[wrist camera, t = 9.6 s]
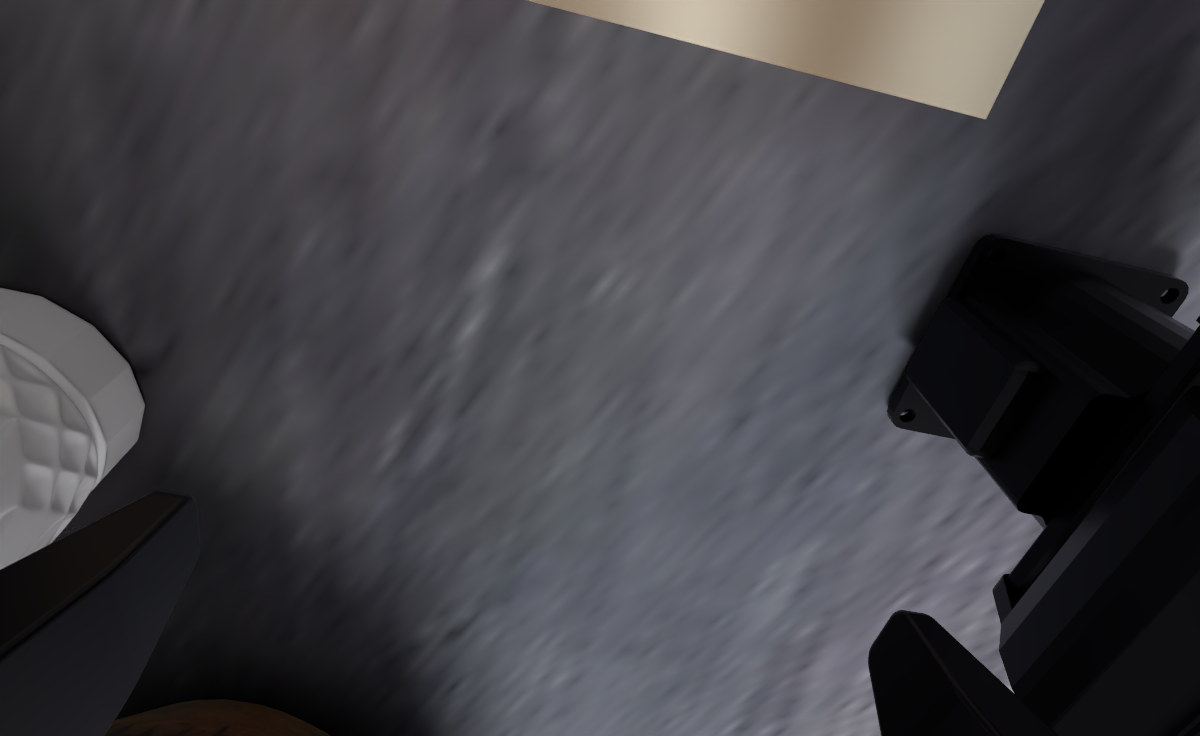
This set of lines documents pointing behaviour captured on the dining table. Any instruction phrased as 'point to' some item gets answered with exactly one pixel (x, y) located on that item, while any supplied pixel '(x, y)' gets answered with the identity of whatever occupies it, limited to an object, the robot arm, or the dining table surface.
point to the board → (852, 39)
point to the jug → (213, 721)
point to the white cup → (56, 418)
